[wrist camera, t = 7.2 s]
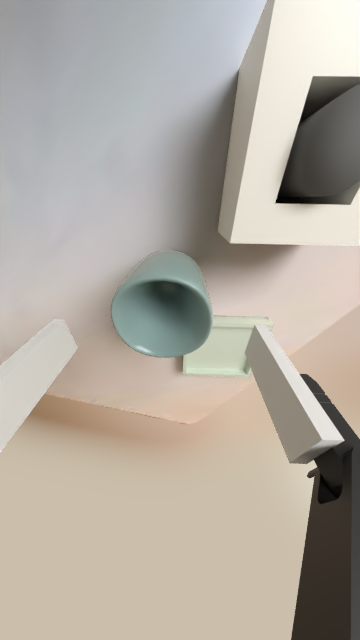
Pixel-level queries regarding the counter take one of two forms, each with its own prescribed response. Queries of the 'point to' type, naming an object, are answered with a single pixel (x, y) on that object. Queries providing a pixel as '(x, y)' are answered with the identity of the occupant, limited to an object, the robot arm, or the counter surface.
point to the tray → (224, 348)
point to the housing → (289, 123)
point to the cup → (163, 306)
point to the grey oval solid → (325, 150)
